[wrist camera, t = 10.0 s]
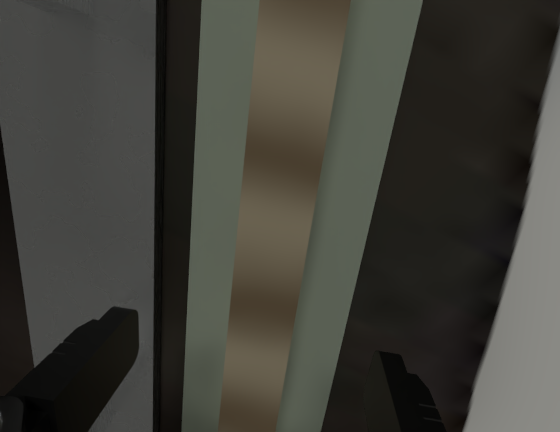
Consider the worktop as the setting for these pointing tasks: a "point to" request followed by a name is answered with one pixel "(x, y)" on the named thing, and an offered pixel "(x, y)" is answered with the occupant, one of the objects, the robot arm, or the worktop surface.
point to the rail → (278, 199)
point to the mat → (328, 207)
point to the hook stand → (88, 175)
